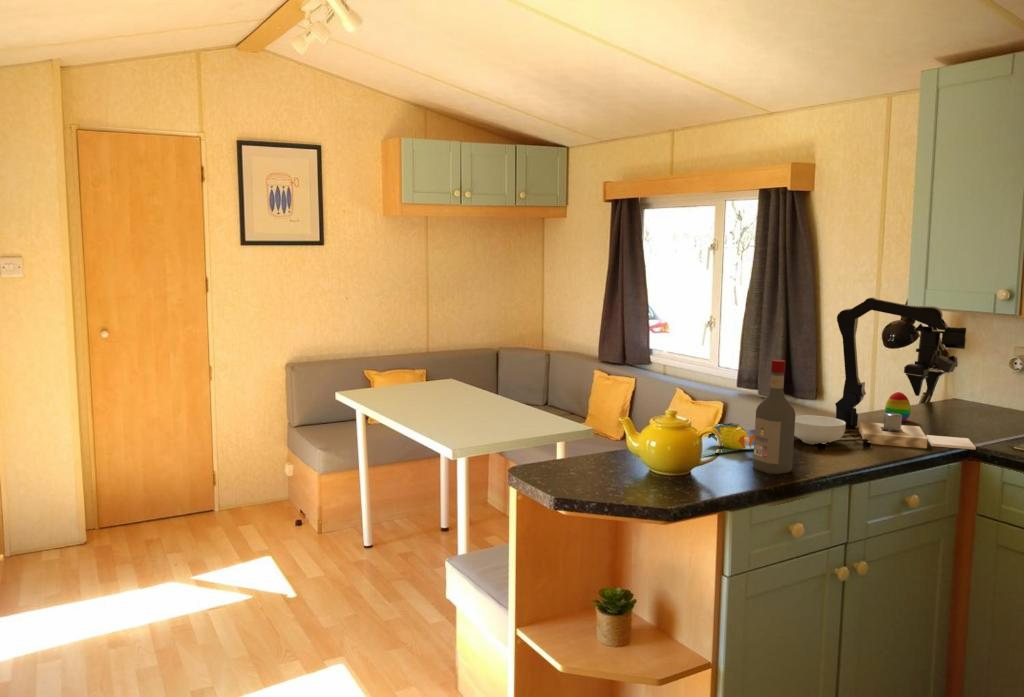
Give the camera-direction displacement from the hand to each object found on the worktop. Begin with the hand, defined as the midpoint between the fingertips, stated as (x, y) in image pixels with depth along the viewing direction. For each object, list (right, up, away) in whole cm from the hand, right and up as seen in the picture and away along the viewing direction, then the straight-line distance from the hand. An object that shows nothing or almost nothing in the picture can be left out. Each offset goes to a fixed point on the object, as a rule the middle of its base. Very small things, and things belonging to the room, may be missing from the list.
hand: (923, 394), depth 274 cm
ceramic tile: (+4, -15, -8) cm, 17 cm away
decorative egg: (+3, -11, +25) cm, 27 cm away
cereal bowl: (-38, -15, -9) cm, 42 cm away
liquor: (-61, -18, -41) cm, 76 cm away
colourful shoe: (-67, -16, -20) cm, 72 cm away
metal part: (-12, -14, -4) cm, 19 cm away
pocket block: (-12, -14, -4) cm, 19 cm away
